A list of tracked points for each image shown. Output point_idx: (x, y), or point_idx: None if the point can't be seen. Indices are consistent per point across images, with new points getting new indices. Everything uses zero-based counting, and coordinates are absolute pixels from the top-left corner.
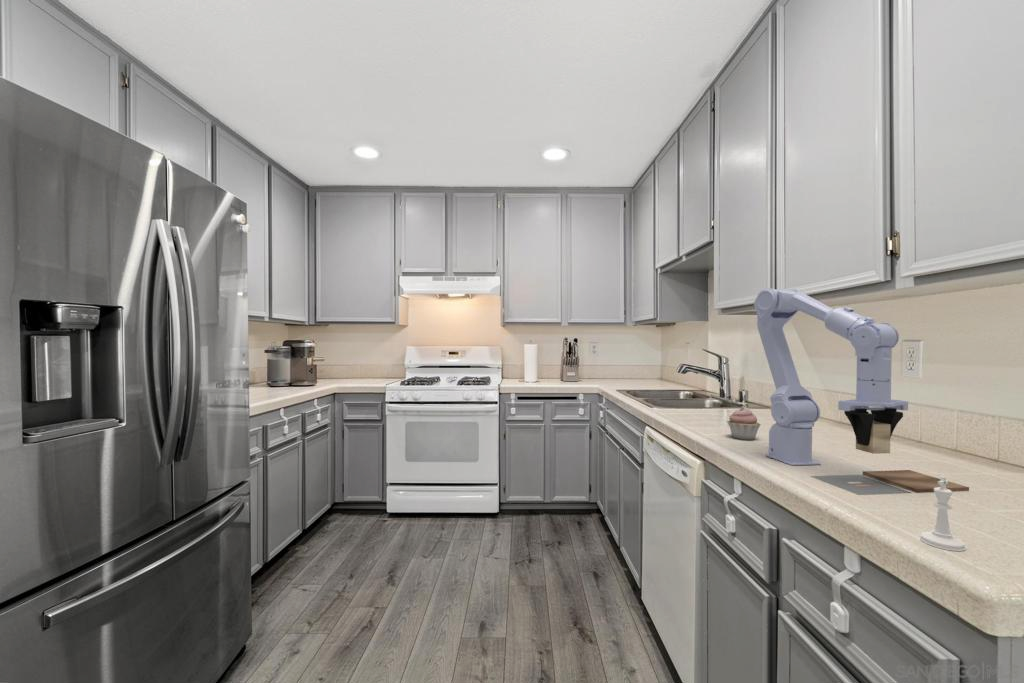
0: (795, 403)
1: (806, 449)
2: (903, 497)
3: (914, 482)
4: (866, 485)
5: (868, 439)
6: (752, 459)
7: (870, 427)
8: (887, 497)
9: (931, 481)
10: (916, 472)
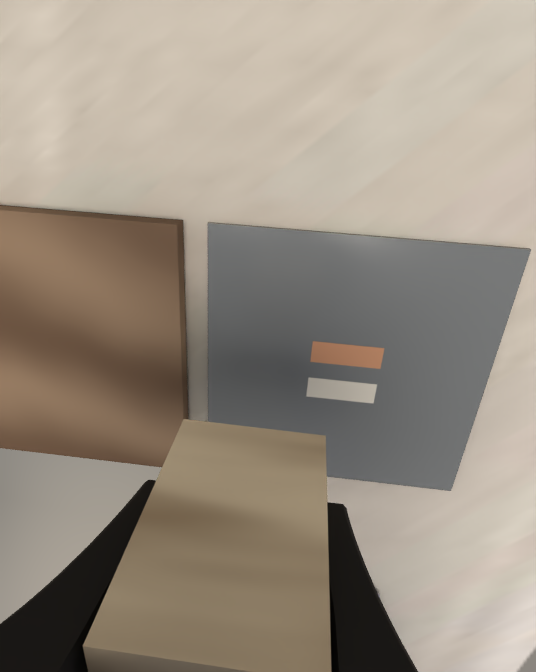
0: None
1: None
2: (318, 181)
3: (88, 310)
4: (329, 349)
5: (339, 539)
6: (448, 666)
7: (347, 652)
8: (405, 197)
9: None
10: None
